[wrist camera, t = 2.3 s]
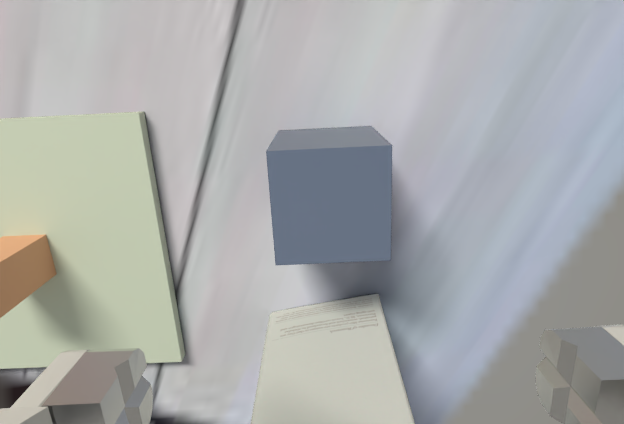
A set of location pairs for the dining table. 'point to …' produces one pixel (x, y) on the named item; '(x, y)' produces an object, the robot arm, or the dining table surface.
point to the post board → (82, 241)
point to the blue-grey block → (330, 195)
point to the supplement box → (330, 367)
